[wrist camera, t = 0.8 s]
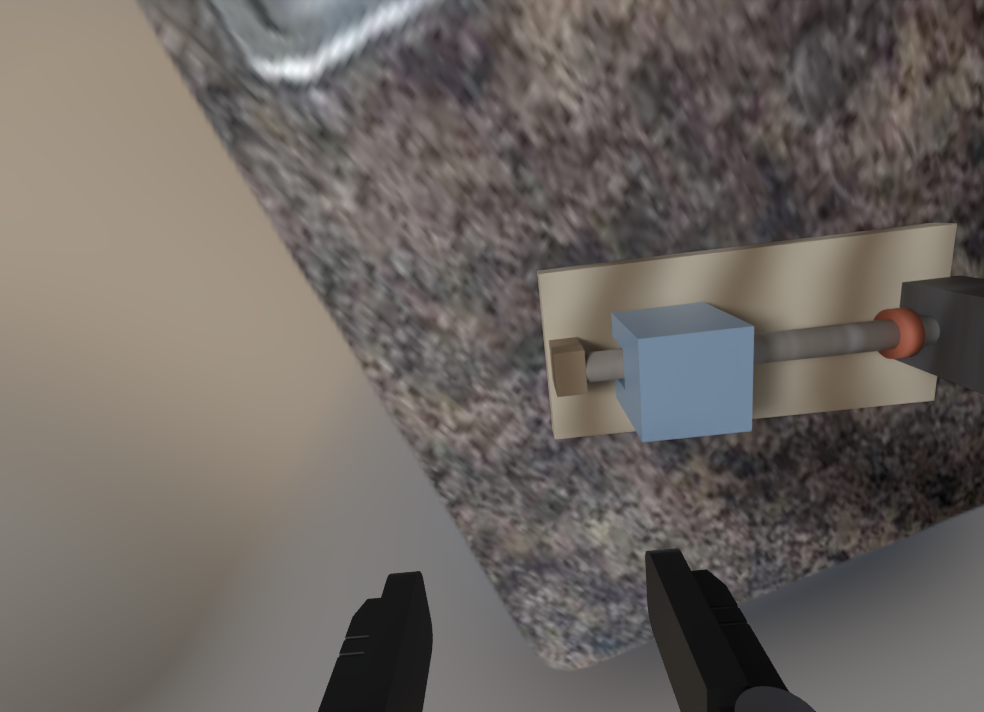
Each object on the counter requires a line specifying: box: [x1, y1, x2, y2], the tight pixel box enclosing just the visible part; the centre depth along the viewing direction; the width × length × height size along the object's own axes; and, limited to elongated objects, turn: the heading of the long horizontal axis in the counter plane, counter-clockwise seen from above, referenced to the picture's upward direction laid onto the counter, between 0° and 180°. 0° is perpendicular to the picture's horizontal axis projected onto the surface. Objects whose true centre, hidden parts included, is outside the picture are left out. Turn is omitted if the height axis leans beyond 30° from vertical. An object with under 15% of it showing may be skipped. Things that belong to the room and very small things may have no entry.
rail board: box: [537, 223, 984, 439], centre depth 27 cm, size 22×10×7 cm, turn 97°
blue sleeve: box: [611, 302, 754, 442], centre depth 26 cm, size 5×5×6 cm
